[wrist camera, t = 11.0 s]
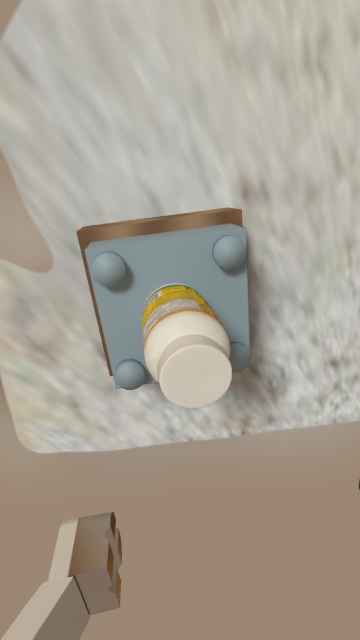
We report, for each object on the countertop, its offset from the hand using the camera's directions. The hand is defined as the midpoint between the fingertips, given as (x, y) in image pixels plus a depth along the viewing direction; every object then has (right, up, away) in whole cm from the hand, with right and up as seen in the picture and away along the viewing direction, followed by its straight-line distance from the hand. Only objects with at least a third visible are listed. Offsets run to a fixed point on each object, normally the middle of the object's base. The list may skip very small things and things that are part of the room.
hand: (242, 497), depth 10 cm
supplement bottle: (-2, +6, +16) cm, 17 cm away
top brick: (-3, +8, +19) cm, 21 cm away
